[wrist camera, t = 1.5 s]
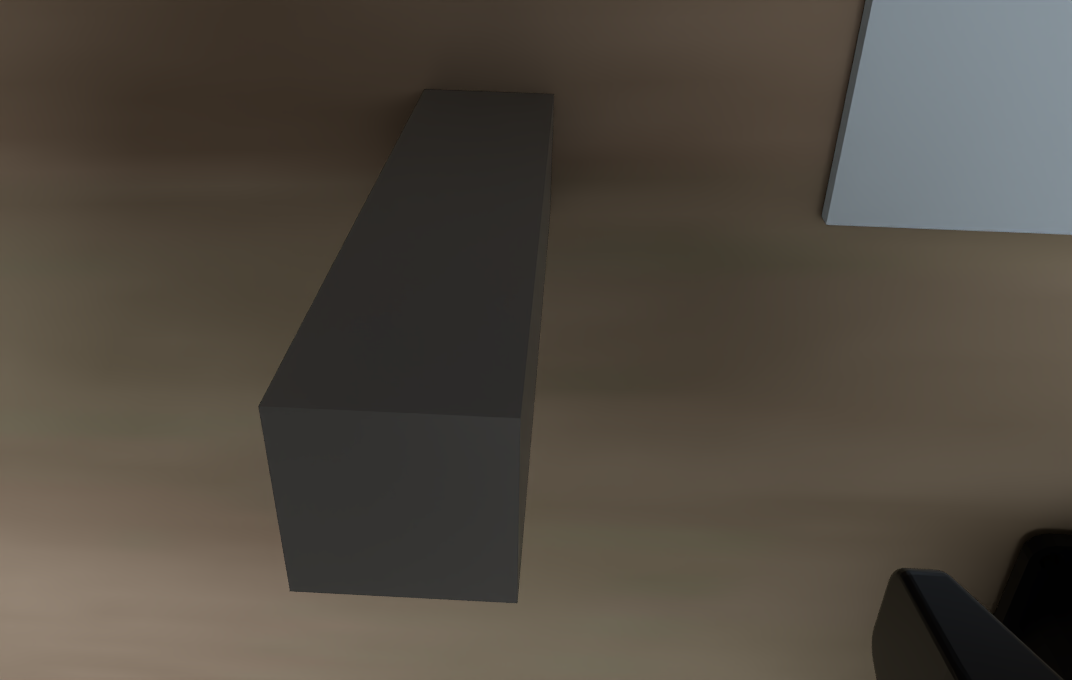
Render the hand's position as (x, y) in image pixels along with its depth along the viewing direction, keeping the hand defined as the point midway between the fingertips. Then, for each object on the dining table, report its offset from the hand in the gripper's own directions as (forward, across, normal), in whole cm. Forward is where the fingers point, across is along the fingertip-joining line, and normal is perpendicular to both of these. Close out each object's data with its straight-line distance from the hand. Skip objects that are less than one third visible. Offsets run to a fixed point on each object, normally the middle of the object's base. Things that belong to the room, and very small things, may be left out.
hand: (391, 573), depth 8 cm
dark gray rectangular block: (+11, 0, 0) cm, 11 cm away
